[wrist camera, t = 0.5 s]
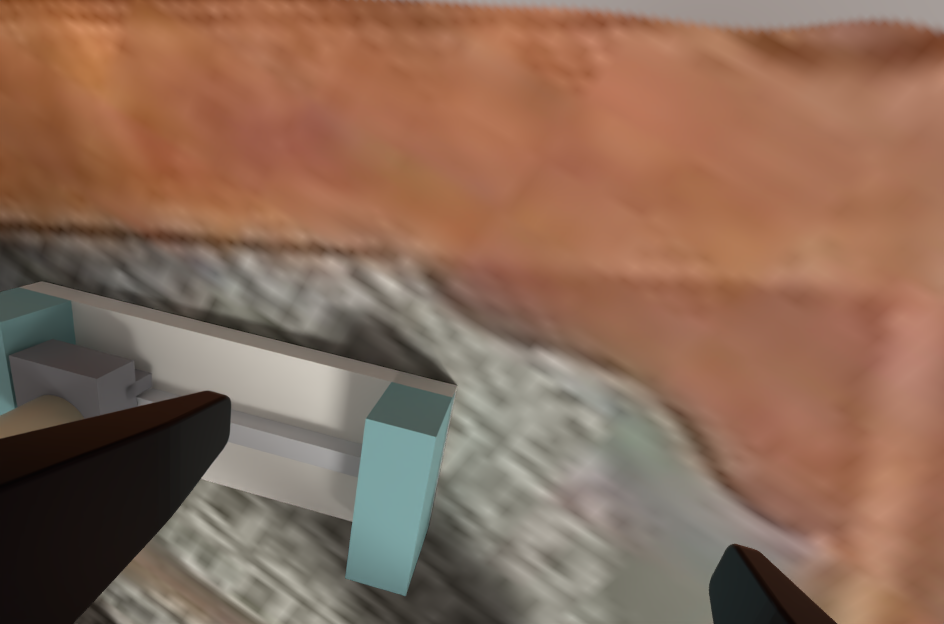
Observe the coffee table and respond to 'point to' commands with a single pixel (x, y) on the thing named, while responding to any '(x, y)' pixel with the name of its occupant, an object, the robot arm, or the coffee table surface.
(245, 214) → the coffee table surface
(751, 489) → the coffee table surface
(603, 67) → the coffee table surface
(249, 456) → the rail track
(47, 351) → the carriage
